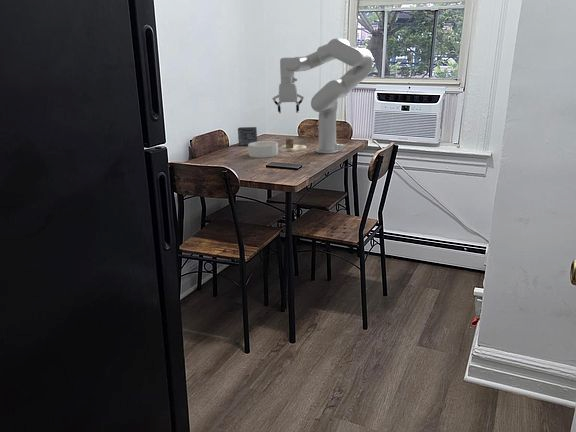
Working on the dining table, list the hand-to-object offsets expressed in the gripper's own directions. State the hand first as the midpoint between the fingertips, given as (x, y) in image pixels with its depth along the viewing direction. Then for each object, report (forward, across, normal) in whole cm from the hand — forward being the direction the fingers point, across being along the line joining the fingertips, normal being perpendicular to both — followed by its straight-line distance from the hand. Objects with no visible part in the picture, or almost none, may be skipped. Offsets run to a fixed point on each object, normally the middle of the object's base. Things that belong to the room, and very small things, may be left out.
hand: (288, 112), depth 286 cm
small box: (+20, +24, -17) cm, 36 cm away
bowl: (+20, +15, +15) cm, 29 cm away
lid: (+20, 0, 0) cm, 21 cm away
